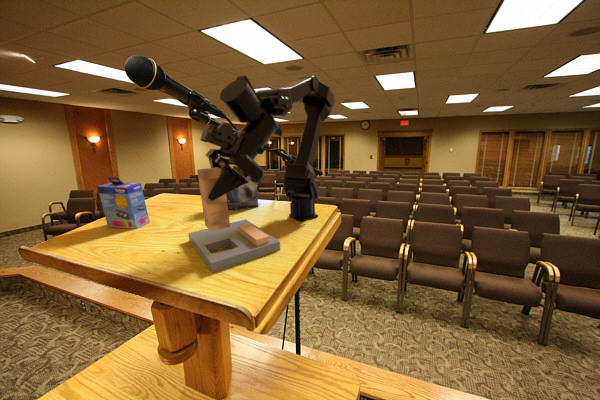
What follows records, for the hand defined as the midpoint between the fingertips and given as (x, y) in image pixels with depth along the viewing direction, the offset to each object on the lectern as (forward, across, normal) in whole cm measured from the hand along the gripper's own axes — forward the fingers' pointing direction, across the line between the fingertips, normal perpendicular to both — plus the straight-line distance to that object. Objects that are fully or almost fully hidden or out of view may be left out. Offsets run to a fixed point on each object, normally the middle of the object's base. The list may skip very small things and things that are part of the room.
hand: (206, 197), depth 52 cm
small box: (-4, -30, +23) cm, 38 cm away
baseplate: (+6, -3, +13) cm, 14 cm away
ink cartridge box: (+20, -34, -1) cm, 40 cm away
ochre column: (+4, 0, +6) cm, 7 cm away
